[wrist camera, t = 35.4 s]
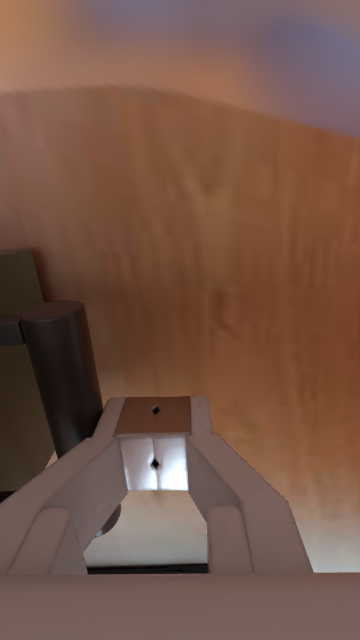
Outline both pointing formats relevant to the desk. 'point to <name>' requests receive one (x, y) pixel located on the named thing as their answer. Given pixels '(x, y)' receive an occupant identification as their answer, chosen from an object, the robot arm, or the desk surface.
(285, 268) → the desk surface
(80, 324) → the drawer
